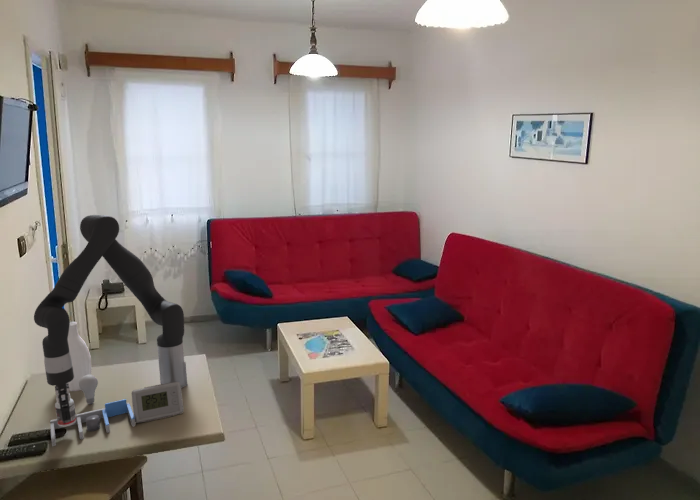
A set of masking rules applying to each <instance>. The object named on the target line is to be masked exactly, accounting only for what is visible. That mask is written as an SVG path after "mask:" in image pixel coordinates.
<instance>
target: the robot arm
mask: <svg viewBox="0 0 700 500" xmlns="http://www.w3.org/2000/svg"><path fill="white" fill-rule="evenodd" d="M79 229H80V233H81V235H82V237H83V238H84V240H85V241H86V242H87V243H86V246H85V247H84V249H83V250H82V251H81V252H80V253H79V254H78V256H77V257H76V258H75V259H73V260H72V261H71V262H70V263H69V264H68V266H66V267H65V269H64V270H63V271H62V273H61V275H60V276H59V278H58V280H57V282H56V283H55V285H54V287H53V289H52V290H51V291H50V292H49V293H48V294H47V295H46V296H45V298H43V300H41V302H40V303H38V306H37V307H36V309H35V310H34V314H33V315H34V316H33V321H34V323H35V324H36V325H37V326H39V327H41V328H44V329H47V335H45V337H44V338H42V342H41V343H42V351H43V362H44V370H45V376H46V382H47V384H48V385H49V386H53V387H54V389H55V391H54V392H55V395H56V396H57V400H58V403H59V404H60V411H61V412H62V418H63V421H67V420H70V419H71V417H70V411H69V410H70V406H69V401H70V396H71V395H70V396H69V393H70V392H71V391H70V390H69V383H68V382H70V381H72V380H73V378H74V373H73V366H72V359H71V355H70V351H69V345H68V334H69V325H70V322H71V319H70V315H69V313H68V311H67V310H66V309H65V308H63V307H64V306H65V305H66V304H69V303H72V302H74V301H75V300H76V299H77V297H78V295H79V293H80V291H81V290H82V287H83V286H84V285H85V283H86V281H87V279H88V277H89V276H90V274H91V273H92V271H93V269H94V268H95V266H96V265H97V264H98V262H100V261H101V259H102V258H103V259H104V260H105V261H106V263H107V264H108V265H109V267H110V268H111V269H112V270H113V272H114V273H115V274H116V275H117V276H118V278H119V279H120V280H121V282H122V283H123V284H124V285H125V287H126V288H127V289H128V290H129V291H130V292H131V293H132V295H134V297H135V298H136V299H137V300H138V301H139V302H140V303H141V305H142V306H143V308H144V310H145V311H146V313H147V314H148V316H149V317H150V319H151V320H152V321H153V323H154V324H156V325H159V326H162V327H161V329H162V334H159V335H158V336H157V338H156V345H157V358H158V368H159V370H158V371H159V378H160V379H159V382H160V384H165V383H173V382H180V385H181V389H182V388H184V387H186V386H188V377H187V375H188V373H187V362H186V361H185V355H184V354H185V352H184V340H183V339H184V335H185V314H184V308H182V306H181V305H179V304H177V303H174V302H171V301H168V300H167V299H165V298H164V297H163V296H162V295H161V294H160V293H159V291H158V290H157V289H156V286H155V283H154V279H153V276H152V274H151V273H152V272H150V270H149V269H148V267H147V266H146V265H145V263H144V262H143V261H142V260H141V258H139V257H138V256H137V255H136V254H134V253H133V252H131V251H130V250H129V249H127V248H126V247H124V246H123V245H122V244H121V243H120V242H119V241H118V240H117V238H118V235H119V233H120V224H119V221H118V220H117V219H116V218H115V217H113V216H110V215H104V214H90V215H87V216H84V218H82V219H81V221H80V225H79ZM57 400H56V401H57ZM66 404H67V406H63V407H62V405H66Z"/></svg>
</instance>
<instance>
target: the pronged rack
mask: <svg viewBox="0 0 700 500" xmlns="http://www.w3.org/2000/svg"><path fill="white" fill-rule="evenodd" d="M124 414H127V416H128V418H129V421H130V425H131V426H132V427H135V426H136V422H135V417H134V412H133V408H132V406H131V404H130V402H127V399H126V398H125V399H124V398H123V399H120V400H115V401H110V402H106V403H104V407H102V408H98V409H94V410H90V411H85V412H82V413H76V422H75V423H74V424H72V425H70V426H75V425H77V428H78V434H79V439H80V440H83V439H85V438H84V431H83V426H82V424H83V423H85V424H86V425H85V426H86V431H88V432H94V431H97V430H99V429H100V428H101V422H100V421H101V419H102V420H103V423H104V427H105V431H106V434H107V433H111V430H110V429H111V428H110V423H109V418H110V417H114V416H119V415H120V416H121V415H124ZM49 422H50V423H49V424H50V439H51V447H56V446H57V444H56V443H57V442H56V431H55V430H57V429H56V428H58V429H62V428H64V427H61V426H59V425H58V422H57V418H56V419H50V421H49ZM70 426H69V427H70ZM66 427H68V426H66ZM66 427H65V428H66Z"/></svg>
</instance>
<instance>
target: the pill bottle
mask: <svg viewBox="0 0 700 500" xmlns="http://www.w3.org/2000/svg"><path fill="white" fill-rule="evenodd" d="M69 396H70V401H69V406H70V410H69V411H70V417H71V419H70V420H67V421H63V418H62V412H61V411H60V404H59V403H58V400H57V395H56V396H55V399H56V402H55V403H54V408H55V415H56V419H57V422H58V425H59V426H61V427H63V428H66V426H67V427H70V425H71V426H73V425H72V424H74V423H75V422H76V414H77V413H76V408H75V407H76V405H75V401H74V399H73V398H71V393H70V392H69ZM63 406H67V404H66V405H62V407H63Z"/></svg>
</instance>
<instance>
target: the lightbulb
mask: <svg viewBox="0 0 700 500" xmlns="http://www.w3.org/2000/svg"><path fill="white" fill-rule="evenodd" d="M98 384H99V381H98V378H97V377H96V376H95V375H93V374H91V375H85V376H83V377H82V378H81V379H80V381H79V387H80V389H81V390H80V391H81V392H82V393H83V394H84V397H85V401H86V404H88V405H92V404H93V403H94V402H95V395H96V394H95V393H96V389H97V387H98Z"/></svg>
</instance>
